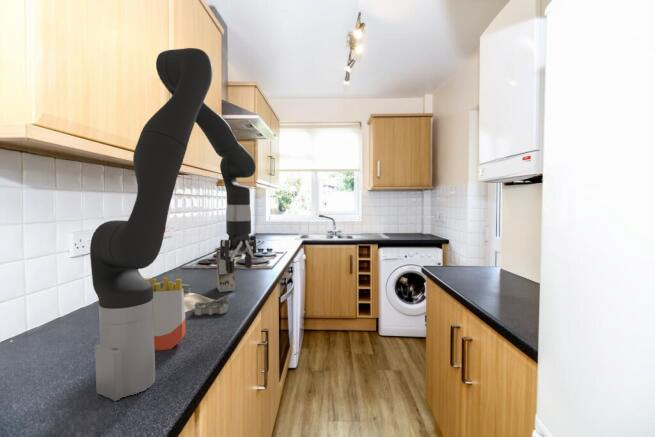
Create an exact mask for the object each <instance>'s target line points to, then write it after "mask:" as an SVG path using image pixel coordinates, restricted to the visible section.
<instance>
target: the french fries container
mask: <svg viewBox="0 0 655 437" xmlns="http://www.w3.org/2000/svg"><path fill="white" fill-rule="evenodd" d="M143 278H144V279H145V280H146V281H148V282H149V283H150V284H151V285H152V287H153V307H154V347H155V351H166V350H172V349H173V348H174V347H175V346H176V345H177V344H178V343H180V341H182V339H183V338H184V336H185V334H186V312H185V305H184V292H183V288H182V285H181V284H182V278H176V279H175V283H173V282H174V280H173V281H169V277H164V278H163V277H162V278H163V279H162V282H163V289H160V282H156V278H153V277H152V278H149V277H143ZM150 280H151V282H150ZM168 281H169V283H168Z"/></svg>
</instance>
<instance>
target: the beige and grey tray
mask: <svg viewBox="0 0 655 437" xmlns="http://www.w3.org/2000/svg"><path fill="white" fill-rule="evenodd" d="M169 282H170V281H169V280H168V283H169ZM159 283H160V289H163V281H160V282H159ZM173 283H176V281H175V282H174V281H173ZM181 285H182V288H183V292H184V305H185V313H187V312H189V311H192V310H194V308H195V306H194V305H195V304H196V302H200V303H202V302H206V301H213V300H214V299H213V298H210V297H207V296H204V295H202V294H198V293H193V292H191V291H192V290H191V289H192V288H191V284H185V283H181Z"/></svg>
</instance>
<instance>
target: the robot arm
mask: <svg viewBox="0 0 655 437" xmlns="http://www.w3.org/2000/svg"><path fill="white" fill-rule="evenodd" d="M155 68H156V72H157V75H158V78H159V80H160V82H161V83H162V85H163V86H164V87H165V88H166V90H167V91H168V92H169V93H170V94H171V97H170V98H169V99H168V100H167V102H166V103H164V104H163V105H162V106H161V108H159V109H158V110H157V111H156V112H155V113H154V114H153V115H152V116H151V117H150V119H148V121H146V123H145V125H143V127H142V130H141V132H140V134H139V138H138V140H137V143H136V144H135V145H136V146H135V147H134V148H135V149H134V151H133V156H132V158H133V159H132V162H133V170H134V174H135V180H136V185H137V187H136V188H137V192H136V198H135V202H134V205H133V208H132V210H131V212H130V216H129V217H128V219H127V220H121V219H120V220H118V219H117V220H109V221H106V222H103V223H102V224H100V225H98V227H97V228H96V229H95V231H94V232H93V234H92V236H91V240H90V244H89V256H90V257H89V258H90V268H91V269H90V270H91V280H92V287H93V290H94V292H95V294H96V295H97V299H98V315H99V316H98V317H99V319H98V320H99V321H98V322H99V343H97V344H96V345H95V346H94V353H95V355H94V357H95V358H94V359H95V382H96V388H95V390H96V394H98V395H101V396H102V395H103V397H105V398H107V397H108V398H107V399H109V398H110V400H112V401H114V402H116V401H117V400H118V401H120V400H121V399H120V398H122V397H125V398H127V397H126V396H129V395H133V396H135V395H134V394H136V395H138V394H140V393H139V392H141V393H143V392H144V391H147V390H148V389H150V387H152V386H153V385H154V383H155V382H156V356H155V355H156V354H155V351H156V350H155V347H154V307H153V287H152V285H151V282H150V281H149V282H148V281H146V280H145V279H144V278H145V277H143V275H142V274H141V272H140V271H139V270H142V269H146V268H147V267H149V266H151V264H153V263H154V262H155V261H156V260H157V257H158V256H159V254H160V252H161V248H162V246H163V240H164V236H165V232H166V227H167V226H166V225H167V221H168V216H169V215H168V214H169V210H170V206H171V202H172V198H173V194H174V190H175V186H176V183H177V179H178V176H179V174H180V170H181V168H182V164H183V163H184V159H185V156H186V152H187V150H188V145H189V142H190V138H191V134H192V132H193V130H194V126H195V123H196V124H197V125H198V127H199V129H200V130H201V131H202V132H203V134H204V136H205V137H206V138H207V140H208V143H210V145H211V147H212V148H213V150H214V152H215V153H216V154H217V156H219V157H220V158H221V160H220V165H219V166H220V167H219V170H220V174H221V177H222V180H223V184H224V188H225V191H226V211H225V215H226V216H225V217H226V218H225V221H226V222H225V223H226V224H225V225H226V230H225V231H226V234H227V235H228V239H220V242H219V243H220V244H219V245H220V246H219V250H220V259H221V260H225V261H226V272H227V273H233V272H234V273H235V265H234V266H233V259H234V260H235V256H237V255H238V253H240V252H243V255H244V268H245V269H251V268H252V265H253V259H252V258H253V256H254V254H257V238H256V237H257V236H255V235H251V234H252V209H251V192H250V188H249V187H248V186H247V185H241V184H239V182H238V179H246V178H251V177H252V176H254V174H255V172H256V166H257V165H256V163H255V159H254V158H253V156H252V155H251V153H249V151H248V150H247V149H246V148H245V147H244V146H243V145H242V144H241V143H240V142H239V140H238V139H237V137H236V135H235V134H234V132H233V130H232V128H231V126H230V124H229V123H228V122H227V121H226V120H225V119H224V118H223V117H222V115H220V113H219V114H218V112H216V111H215V110H214V109H213V108H211V106H209V105H208V104H207V103H206V102H205V99H206V97H207V95H208V92H209V90H210V88H211V85H212V81H213V73H214V70H213V64H212V60H211V58H210V56H209V55H208V54H207V53H206V52H205V50H203V49H200V48H195V47H186V48H178V49H168V50H163V51H161V52H160V53H159V54H158V56H157V57H156V60H155ZM231 250H232V251H231ZM224 252H225V256H224ZM230 255H231V256H230ZM229 256H230V257H229ZM147 388H148V389H147ZM142 391H143V392H142ZM137 393H138V394H137ZM129 397H130V396H129ZM122 399H123V398H122Z"/></svg>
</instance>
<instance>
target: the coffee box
mask: <svg viewBox="0 0 655 437" xmlns="http://www.w3.org/2000/svg"><path fill="white" fill-rule="evenodd" d="M231 251H232V250H231ZM224 256H225V252H224ZM230 256H231V255H230ZM230 256H229V257H230ZM233 266H234V267H235V258H234V259H233ZM235 282H236V281H235V271H234V272H233V273H227V272H226V261H225V260H221V259H220V249H218V250H216V288H217V290H218V292H219V293H222V292H223V293H224V292H231V291H232V292H233V291H235V286H236V285H235V284H236V283H235Z"/></svg>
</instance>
